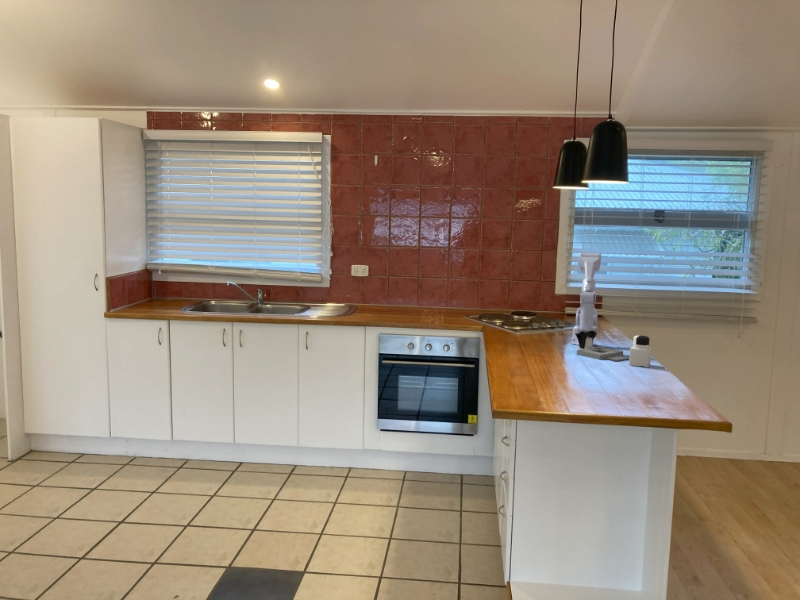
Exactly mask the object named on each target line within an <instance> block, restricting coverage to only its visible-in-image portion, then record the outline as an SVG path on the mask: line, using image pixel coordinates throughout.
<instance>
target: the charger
mask: <svg viewBox="0 0 800 600" xmlns="http://www.w3.org/2000/svg"><path fill="white" fill-rule="evenodd" d="M587 348H593V346H592V338H589V336H587V338H586V341H585V347H584V349H587ZM580 349H582V348H580V347H579V346H578V350H580Z"/></svg>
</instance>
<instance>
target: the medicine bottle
mask: <svg viewBox="0 0 800 600" xmlns="http://www.w3.org/2000/svg"><path fill="white" fill-rule="evenodd" d="M632 340H633V341H632V342H633V344H632V346H631V347H630V348H629V358H630V359H629V360H628V361H629V362H628V365H629V366H630V365H633V366H632V367H638V366H645V367H644V368H646V367H647V368H649V366H650V365H651V359H652V358H651V357H652V347H650V337H649V336H647V335H634V336H633V339H632ZM649 364H650V365H649Z"/></svg>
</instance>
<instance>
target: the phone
mask: <svg viewBox="0 0 800 600" xmlns="http://www.w3.org/2000/svg"><path fill="white" fill-rule="evenodd" d="M629 359H630V357H626V356H617V357H610V358H606V359H605V360H606V361H611V362H613V363H617V362H625V361H624V360H626V361H629Z"/></svg>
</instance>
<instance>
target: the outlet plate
mask: <svg viewBox="0 0 800 600" xmlns="http://www.w3.org/2000/svg"><path fill="white" fill-rule="evenodd" d="M576 355H578V356H581V357H587V358H591V359H595V360H600V361H601V360H604V359H605V360H606V358H610V357H617V356H622V357H624V351H623V350H619V349H613V348H609V347H603V346H595V347H592V348H587V349H580V350H579V349H577V350H576Z"/></svg>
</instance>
